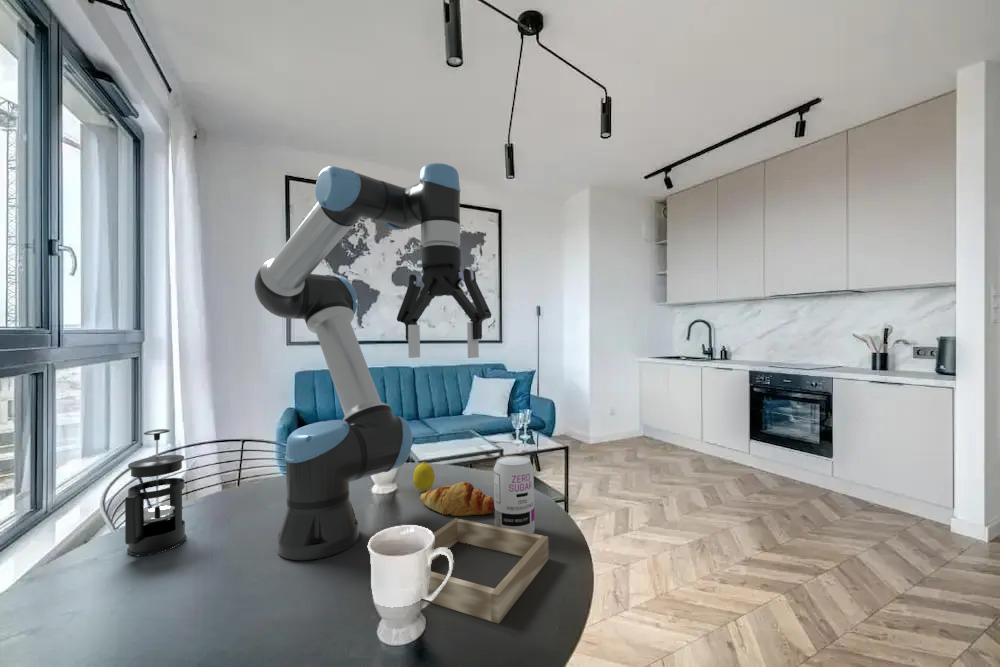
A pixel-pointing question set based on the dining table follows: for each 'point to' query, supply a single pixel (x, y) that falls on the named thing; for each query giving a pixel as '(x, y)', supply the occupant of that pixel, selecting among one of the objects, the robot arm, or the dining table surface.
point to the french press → (159, 521)
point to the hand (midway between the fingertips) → (442, 357)
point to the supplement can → (514, 493)
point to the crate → (503, 597)
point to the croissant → (458, 500)
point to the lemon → (423, 477)
